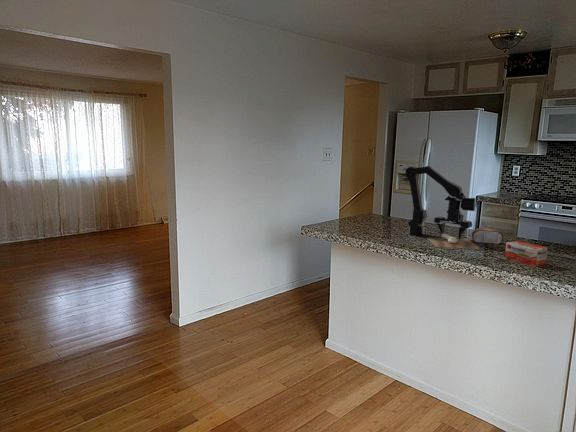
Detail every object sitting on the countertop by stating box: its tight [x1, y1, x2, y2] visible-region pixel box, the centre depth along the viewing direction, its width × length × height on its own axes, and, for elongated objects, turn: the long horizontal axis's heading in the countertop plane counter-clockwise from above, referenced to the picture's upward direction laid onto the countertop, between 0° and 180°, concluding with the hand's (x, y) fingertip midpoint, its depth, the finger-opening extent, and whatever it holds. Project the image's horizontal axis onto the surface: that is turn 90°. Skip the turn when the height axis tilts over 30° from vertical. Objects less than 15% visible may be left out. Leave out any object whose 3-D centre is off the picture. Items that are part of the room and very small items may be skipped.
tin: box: [471, 227, 504, 245], centre depth 218 cm, size 15×3×8 cm, turn 71°
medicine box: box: [503, 240, 548, 268], centre depth 188 cm, size 15×8×8 cm, turn 28°
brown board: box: [426, 237, 481, 250], centre depth 216 cm, size 22×20×1 cm
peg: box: [439, 232, 458, 243], centre depth 219 cm, size 12×4×3 cm, turn 14°
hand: (451, 237), depth 223 cm, fingers open, 9 cm apart
